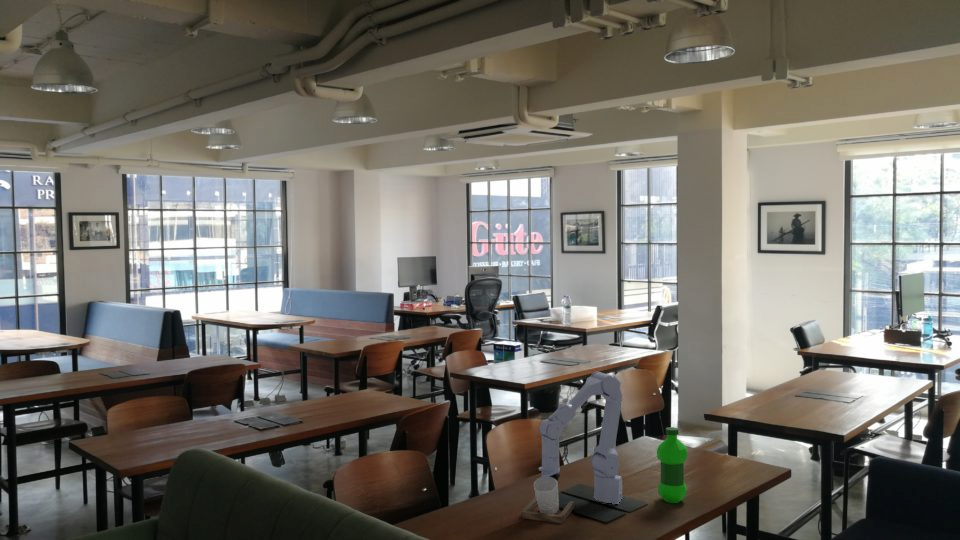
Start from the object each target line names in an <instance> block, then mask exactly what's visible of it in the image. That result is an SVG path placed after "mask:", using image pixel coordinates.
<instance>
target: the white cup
mask: <svg viewBox="0 0 960 540" xmlns="http://www.w3.org/2000/svg"><path fill="white" fill-rule="evenodd" d="M533 490H534V494H535V497H536V500H537V504H538V505H537V508H538V511H539V513H547V514H556V513H557V512H558V511H559V510H560V507H559V506H560V504H559V502H560V500H559V487H558V481H557V480H556V479H554V478H553V477H549V478H548V481H542V479H541V477H539V478H537V479H535V480H534V482H533Z"/></svg>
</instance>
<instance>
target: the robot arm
mask: <svg viewBox="0 0 960 540" xmlns="http://www.w3.org/2000/svg"><path fill="white" fill-rule="evenodd" d="M592 396H602V397H603V399H604V400H605V404H604V410H603V416H602V422H601V430H600V436H599V442H598V445H596V447H595V448H594V449H593V450H594V451H593V453H592V455H591V457H590V460H589V461H590V462H589V463H590V464H589V465H590V467H591V468H592V469H593V479H594V480H593V485H594V487H593V488H594V489H593V490H594V491H593V493H594V494H593V495H594V496H593V497H594V498H595V499H596V500H599V501H603V502H606V503H612V504H611V505H615V504H618V505H620V503H621V502H622V500H623V498H622V497H623V477H622V476H621V475H618V473H619V470H620V463H619V453H618V451H617V450H616V441H617V434H618V431H619V430H618V429H619V422H620V417H621V409H622V403H623V394H622V391H621V381H620V380H619V379H618V377H616V376H615V375H611V374H607V373H604V372H601V371H594V372H592V373H591V375H590V376H589V377H587V378H586V381H585V383H584V384H583V386H582V387H581V388H580V389H579V390H578V392H577V393H576V394H575V395H574V396H573V397H572V399H570V401H569V402H568V403H567V402H566V403H565V402H564V403H562V404H559V405H558V406H557V408H556V410H555V411H554V412H553V413H551V415H549V416H548V418H546V419H543V420H542V421H541V423H540V424H539V427H538V429H537V430H538V432H539V434H540V435H541V466H540V467H538V471H539V472H540V471H541V477H540V478H541V479H542V481H548V478H549V477H553V478H554V479H556V480H557V482H558V481H559V479H560V477H561V474H560V470H561V468H560V437H562V435H563V431H564V429H565V427H566V426H567V425H568V424H569V423H570V422H571V421H572V420H573V419H574V418H575V417H576V416H577V415H576V413H577V410H578V409H579V408H580V407H581V406H583V404H584V403H585V402H587V401H588V400H589V399H590V398H591V397H592ZM621 499H622V500H621ZM619 502H620V503H619ZM606 503H605V504H606Z"/></svg>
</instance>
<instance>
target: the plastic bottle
mask: <svg viewBox="0 0 960 540" xmlns="http://www.w3.org/2000/svg"><path fill="white" fill-rule="evenodd" d="M665 435H667V438H666V439H664V440H663V441H662V442H661V443H659V444H658V447H657V448H656V449H657V450H656V456H657V457H656V458H657V460H659V461H660V482H659V484H658V487H657V492H658V495H659V496H660V497H661V499H663V500H664V502H667V503H670V504H679V503H680V502H682V500H684V498H685V497H686V496H687V489H688V488H687V485H686V483H685V462H687V460H688V455H689V453H688V452H689V451H688V448H687V446H686V445H685V444H684V443H683V442H682V441H681V440H679V439H678V435H679V427H669V426H668V427H666V428H665Z"/></svg>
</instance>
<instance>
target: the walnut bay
mask: <svg viewBox="0 0 960 540" xmlns="http://www.w3.org/2000/svg"><path fill="white" fill-rule="evenodd" d="M575 502H576V501H575V500H574V501H572V500H570V501H569V502H568V503H567V505H566V506H564V508H563V510H562V511H561V512H560V513H559V514H556V513H554V514H547V513H541V512H540V511H539V512H537V511H534V510H535V508H536V507H538V504H537V500H536V496H534V497H533V499H531V500H530V501H529V503H527V504H526V506H525V507H523V509H522V511H521V519H527V520H533V521H541V522H548V523H557V524H562V523H564V522H565V520H566V519H567V518H568V517H569V516H570V514H571V513H572V512H573V510H572V508H573V507H574V506H576V505H575Z"/></svg>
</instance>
